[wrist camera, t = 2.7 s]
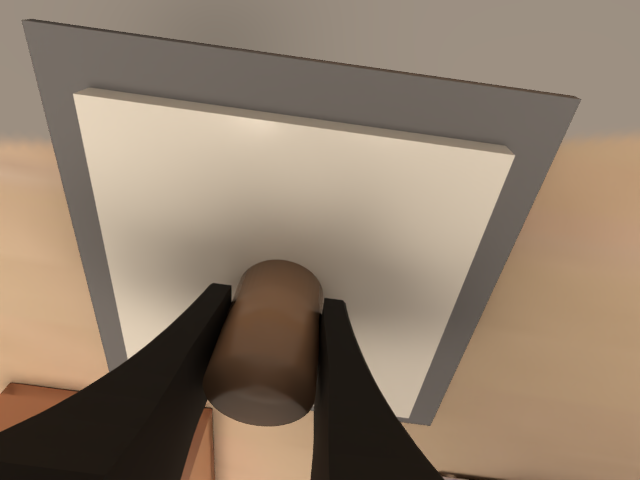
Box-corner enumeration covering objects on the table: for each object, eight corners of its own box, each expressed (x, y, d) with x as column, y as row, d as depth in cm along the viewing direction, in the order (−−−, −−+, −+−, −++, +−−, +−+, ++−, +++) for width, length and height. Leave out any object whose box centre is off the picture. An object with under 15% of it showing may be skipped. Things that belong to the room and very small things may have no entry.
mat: (573, 96, 11) (581, 99, 11) (428, 418, 19) (430, 425, 19) (32, 19, 11) (21, 19, 10) (116, 377, 19) (112, 384, 18)
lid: (505, 145, 11) (591, 231, 7) (406, 402, 18) (423, 523, 14) (89, 87, 11) (-57, 142, 7) (140, 367, 18) (79, 479, 14)
